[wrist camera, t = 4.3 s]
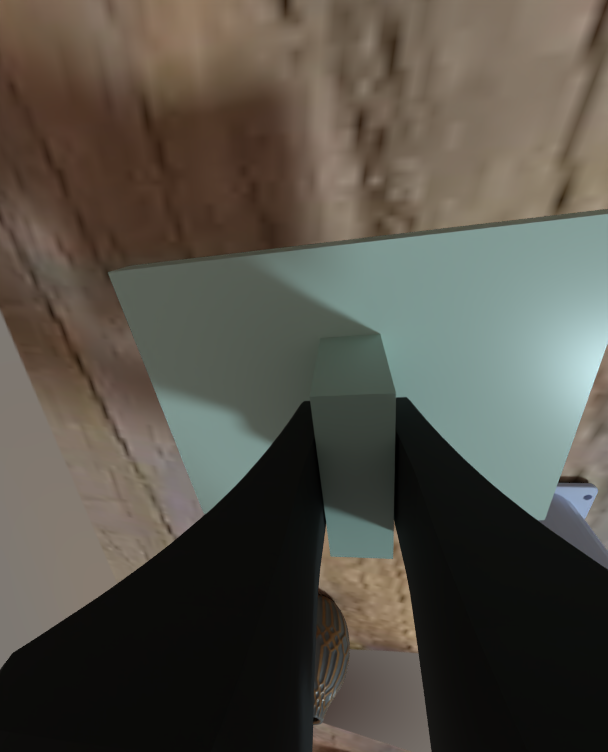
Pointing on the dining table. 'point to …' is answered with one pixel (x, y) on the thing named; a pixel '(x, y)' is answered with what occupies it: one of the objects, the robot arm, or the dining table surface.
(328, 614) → the vase
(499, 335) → the lid
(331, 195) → the dining table surface
